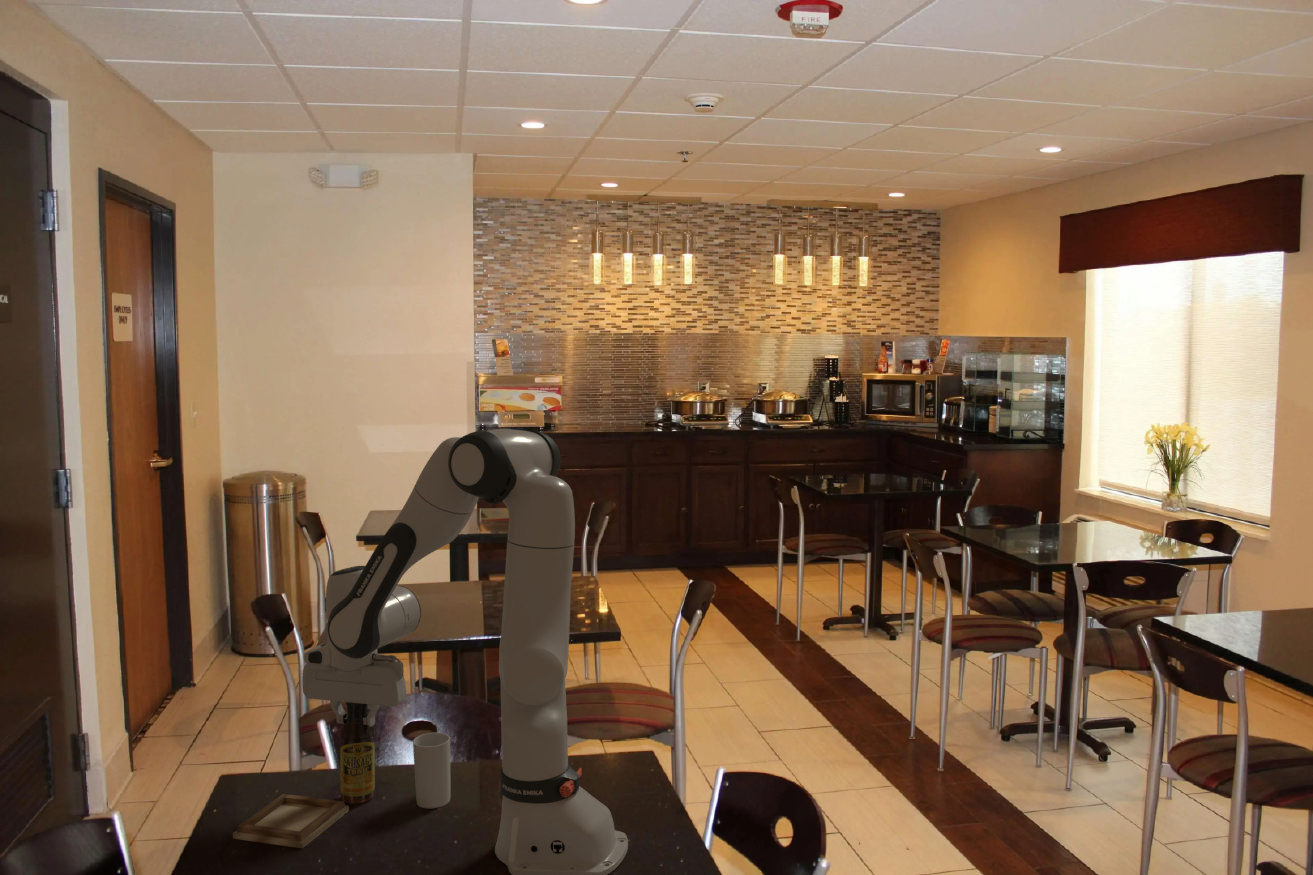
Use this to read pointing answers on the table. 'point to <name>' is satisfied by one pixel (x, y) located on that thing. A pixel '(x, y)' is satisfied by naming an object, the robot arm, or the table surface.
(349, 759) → the sauce bottle
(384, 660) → the robot arm
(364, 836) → the table surface
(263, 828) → the seat plate
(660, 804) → the table surface
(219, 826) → the table surface
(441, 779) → the mug
